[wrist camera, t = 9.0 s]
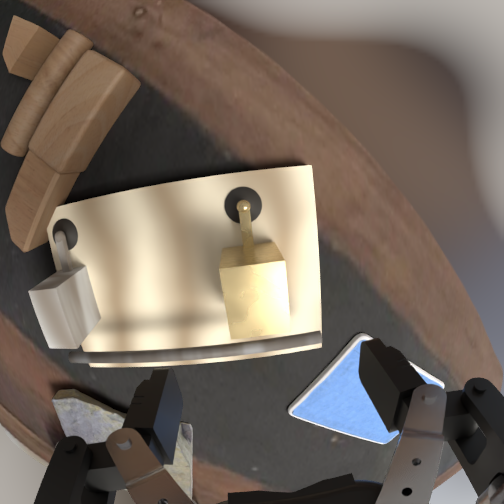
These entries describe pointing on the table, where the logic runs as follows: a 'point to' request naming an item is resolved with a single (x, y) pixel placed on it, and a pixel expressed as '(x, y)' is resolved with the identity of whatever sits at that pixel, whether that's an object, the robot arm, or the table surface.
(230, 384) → the table surface
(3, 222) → the table surface
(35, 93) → the wooden block set
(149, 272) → the cream panel
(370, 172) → the table surface
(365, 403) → the tablet computer
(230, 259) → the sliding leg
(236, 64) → the table surface
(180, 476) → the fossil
